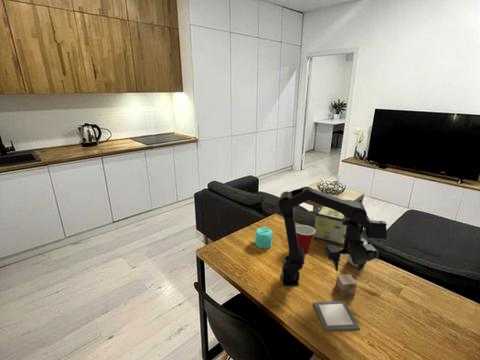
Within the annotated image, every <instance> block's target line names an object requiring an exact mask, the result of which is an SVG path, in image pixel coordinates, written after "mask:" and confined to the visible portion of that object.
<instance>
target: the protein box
mask: <svg viewBox="0 0 480 360" xmlns="http://www.w3.org/2000/svg"><path fill="white" fill-rule="evenodd" d="M343 218H345V216H344V215H343V214H341V213H340V212H338V211H336V210H333V209H331V208H328V207H325V206H323V205H320V207H319V208H318V210H317V211H316V212H315V221H314V229H315V230H316V231H315V233H314V235H313V239H315V240H318V241H321V242H322V241H323V242H326V243H330V244H333V245H335V246H336V245H337V246H340V247H342V243H344V237H343V234H345V231H346V225H342V221H341V219H343Z"/></svg>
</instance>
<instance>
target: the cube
mask: <svg viewBox="0 0 480 360" xmlns="http://www.w3.org/2000/svg"><path fill="white" fill-rule="evenodd" d="M357 285H358V283H357V281H356V280H355V279H354V277H353V276H352V275H351V274H337V275H336V279H335V287H336V290H337V291H338V293H339V294H340V296H342V297H344V296H355V295H356V290H357Z"/></svg>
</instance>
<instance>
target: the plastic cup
mask: <svg viewBox="0 0 480 360" xmlns="http://www.w3.org/2000/svg"><path fill="white" fill-rule="evenodd" d="M295 225H296V224H295ZM296 231H297V238H298V244H299V246H300V248H302V247H304V248H303V252H304V254H306V253H307V254H308V252H309V250H310V247H311V243H312V240H313V238H314V233H315V231H316V230H315V227H312V226H310V225H306V224H297V225H296Z"/></svg>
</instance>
